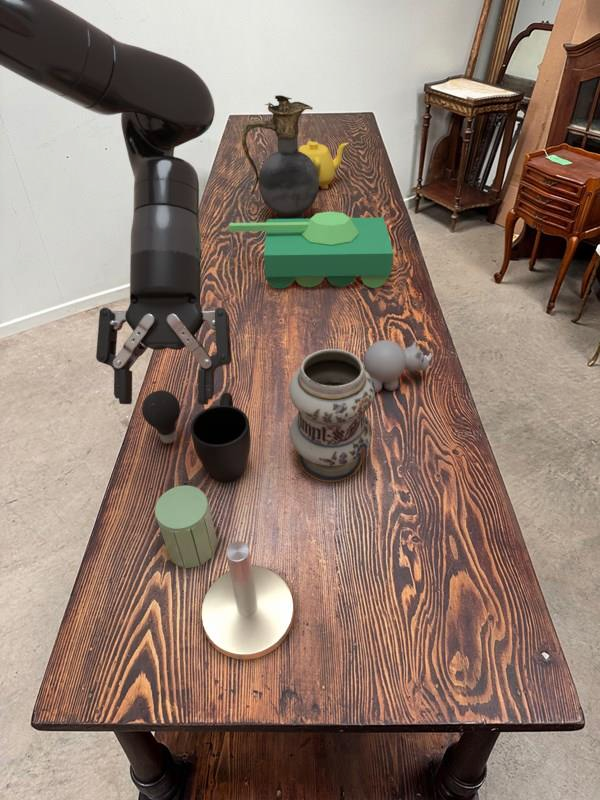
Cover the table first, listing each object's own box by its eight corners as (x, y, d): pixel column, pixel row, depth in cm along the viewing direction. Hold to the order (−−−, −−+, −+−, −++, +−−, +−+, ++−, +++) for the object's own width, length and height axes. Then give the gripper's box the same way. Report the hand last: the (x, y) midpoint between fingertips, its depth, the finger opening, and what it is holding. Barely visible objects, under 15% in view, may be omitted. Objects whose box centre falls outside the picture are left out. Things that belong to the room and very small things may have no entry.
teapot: (322, 197, 155) (322, 154, 147) (282, 186, 161) (280, 145, 153) (347, 182, 163) (349, 140, 155) (308, 172, 169) (308, 132, 161)
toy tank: (232, 203, 123) (385, 201, 123) (237, 253, 132) (380, 251, 131) (224, 239, 110) (395, 236, 110) (230, 291, 119) (389, 289, 118)
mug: (259, 431, 87) (255, 387, 81) (250, 491, 79) (245, 447, 72) (209, 430, 88) (201, 386, 81) (194, 489, 79) (184, 445, 72)
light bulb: (180, 456, 84) (169, 409, 77) (146, 452, 84) (132, 406, 78) (191, 430, 88) (181, 384, 81) (158, 426, 88) (146, 380, 82)
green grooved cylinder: (177, 576, 69) (163, 537, 63) (162, 536, 73) (148, 496, 67) (223, 555, 71) (215, 515, 65) (206, 518, 75) (197, 477, 69)
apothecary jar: (331, 418, 89) (334, 329, 77) (385, 459, 83) (398, 368, 70) (275, 455, 84) (268, 365, 71) (328, 502, 77) (331, 412, 65)
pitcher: (321, 224, 142) (322, 98, 122) (248, 228, 141) (237, 102, 121) (316, 207, 150) (317, 86, 130) (248, 211, 149) (237, 89, 129)
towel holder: (222, 678, 60) (205, 621, 50) (190, 595, 67) (170, 531, 57) (309, 632, 63) (309, 571, 54) (270, 558, 71) (263, 492, 61)
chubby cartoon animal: (433, 392, 94) (441, 353, 88) (366, 397, 93) (369, 359, 87) (422, 365, 99) (429, 327, 93) (358, 371, 98) (361, 333, 92)
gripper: (88, 246, 56) (85, 403, 55) (225, 246, 55) (224, 403, 55) (114, 267, 63) (112, 405, 63) (235, 267, 63) (234, 405, 62)
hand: (164, 404), depth 59 cm, fingers open, 8 cm apart
